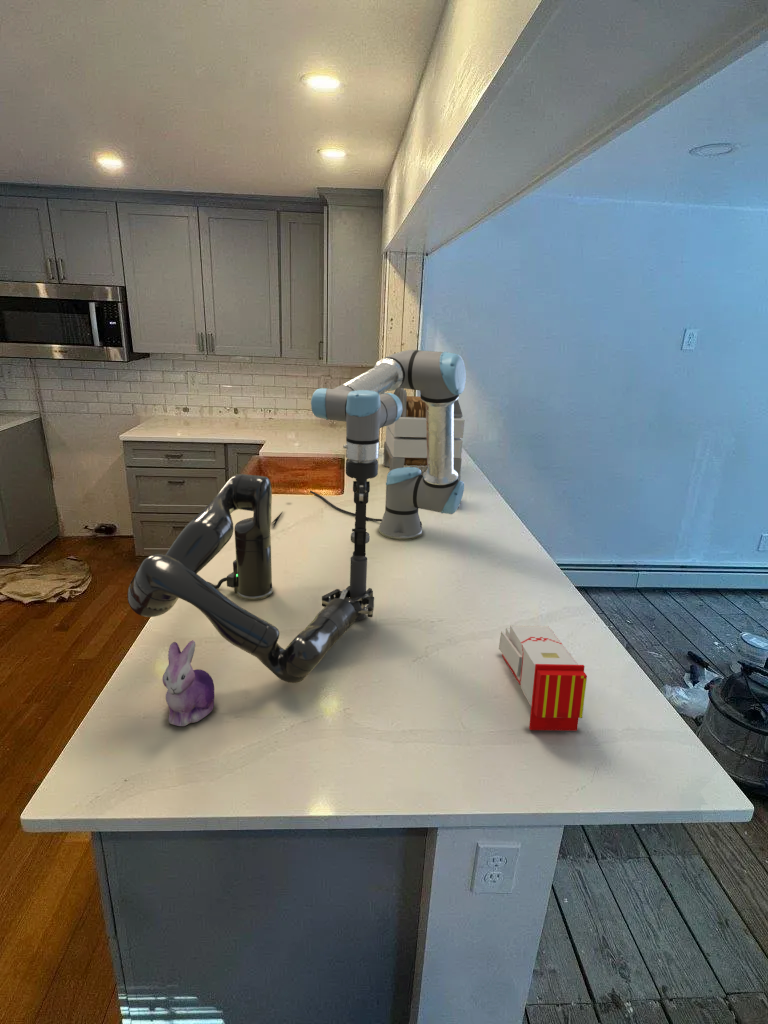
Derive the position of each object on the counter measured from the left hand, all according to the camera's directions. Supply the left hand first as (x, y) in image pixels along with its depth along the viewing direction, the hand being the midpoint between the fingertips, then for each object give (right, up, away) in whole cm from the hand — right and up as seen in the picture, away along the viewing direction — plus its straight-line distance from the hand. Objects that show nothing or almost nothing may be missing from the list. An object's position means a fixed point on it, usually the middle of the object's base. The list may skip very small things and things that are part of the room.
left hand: (362, 589), depth 146 cm
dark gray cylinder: (-1, -7, 0) cm, 7 cm away
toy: (+38, -17, -25) cm, 48 cm away
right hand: (0, +10, -6) cm, 12 cm away
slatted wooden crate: (+23, +39, +129) cm, 137 cm away
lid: (0, +14, -8) cm, 16 cm away
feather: (-33, +19, +66) cm, 76 cm away
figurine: (-31, -19, -37) cm, 52 cm away
